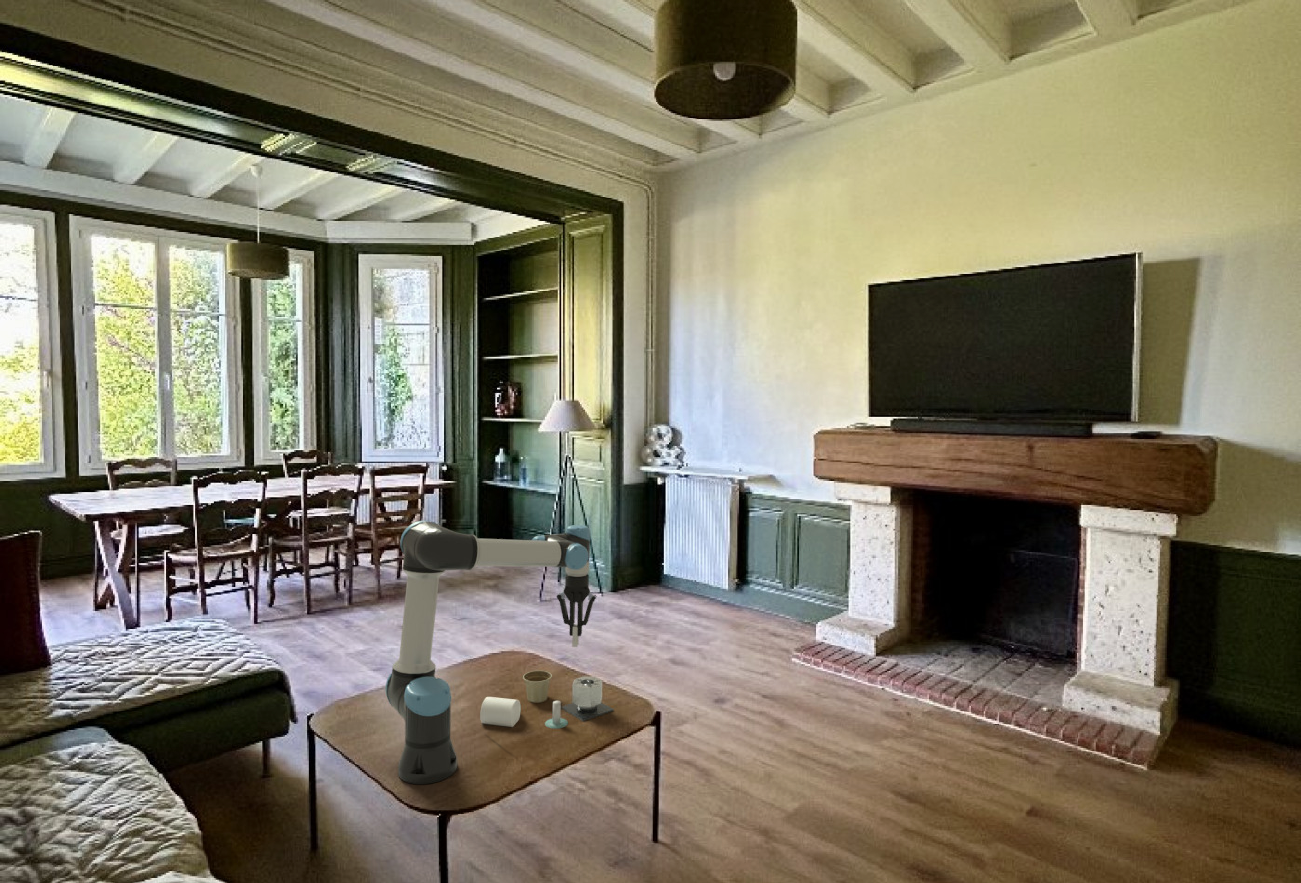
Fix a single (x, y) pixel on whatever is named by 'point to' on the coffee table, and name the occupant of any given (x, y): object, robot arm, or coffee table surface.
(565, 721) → the stand
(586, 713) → the hub
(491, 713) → the mug
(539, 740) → the coffee table surface
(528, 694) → the flower pot
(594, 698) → the collar
